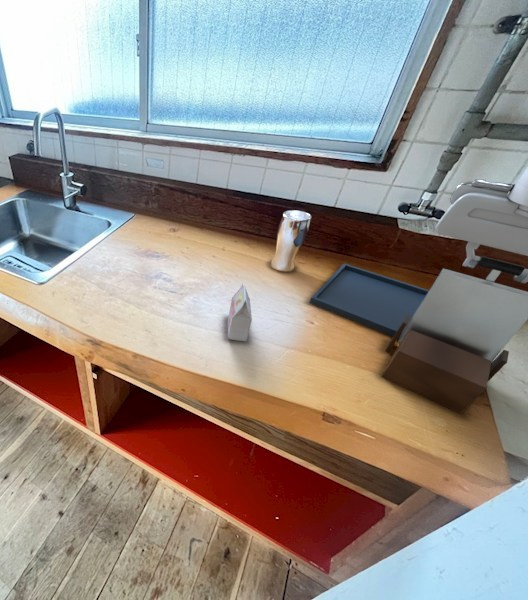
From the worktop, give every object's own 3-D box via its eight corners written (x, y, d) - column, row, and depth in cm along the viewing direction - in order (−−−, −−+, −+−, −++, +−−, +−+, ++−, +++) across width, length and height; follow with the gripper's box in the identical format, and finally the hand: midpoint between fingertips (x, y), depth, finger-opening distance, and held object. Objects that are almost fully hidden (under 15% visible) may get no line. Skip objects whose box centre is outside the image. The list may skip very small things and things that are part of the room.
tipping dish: (479, 376, 55) (479, 368, 57) (561, 278, 46) (557, 274, 49) (397, 342, 62) (399, 336, 64) (454, 251, 54) (455, 248, 56)
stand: (480, 380, 57) (509, 351, 52) (471, 419, 51) (503, 390, 47) (389, 342, 65) (407, 314, 61) (372, 372, 59) (391, 343, 55)
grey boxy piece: (244, 320, 72) (253, 284, 66) (246, 341, 67) (256, 303, 61) (227, 318, 73) (235, 282, 67) (228, 339, 68) (235, 301, 62)
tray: (475, 311, 72) (480, 306, 71) (460, 364, 60) (465, 358, 59) (342, 268, 88) (344, 263, 87) (309, 302, 76) (311, 297, 75)
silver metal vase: (296, 274, 86) (313, 221, 77) (268, 270, 88) (282, 218, 79) (295, 261, 91) (311, 211, 82) (269, 258, 94) (282, 208, 85)
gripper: (459, 181, 50) (413, 258, 58) (682, 218, 38) (583, 308, 46) (466, 172, 53) (421, 246, 62) (673, 203, 41) (582, 289, 50)
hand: (492, 273), depth 54 cm, fingers closed on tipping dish, 5 cm apart
